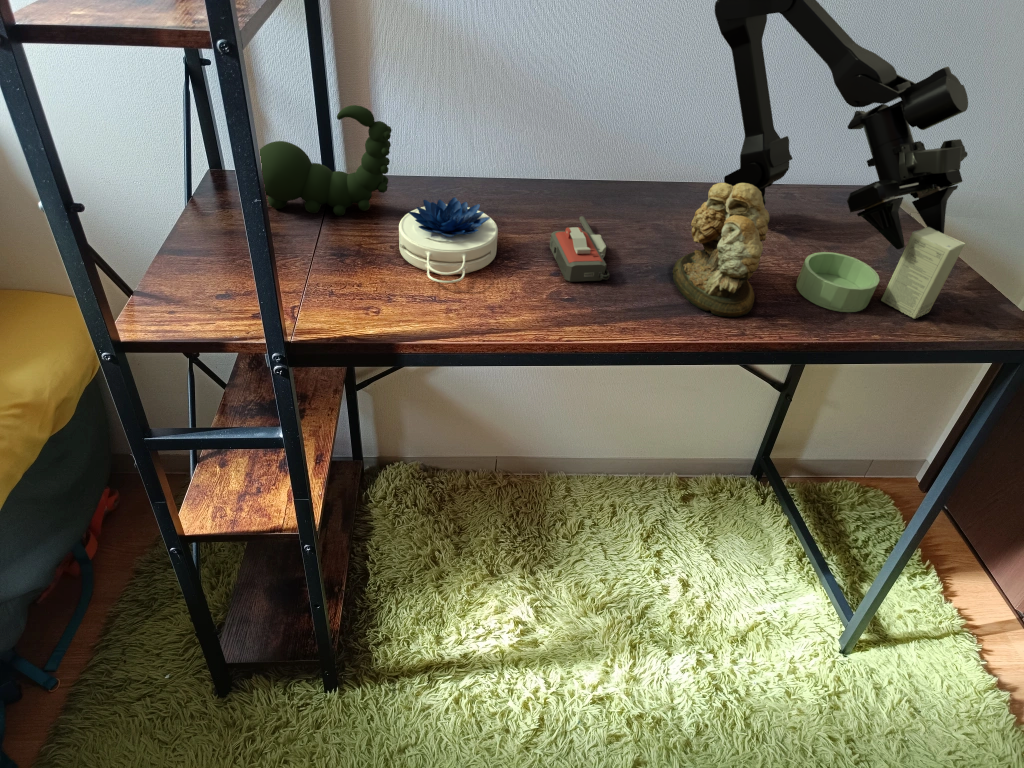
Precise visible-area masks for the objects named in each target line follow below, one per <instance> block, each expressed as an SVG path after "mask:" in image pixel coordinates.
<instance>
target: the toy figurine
mask: <svg viewBox="0 0 1024 768" xmlns="http://www.w3.org/2000/svg"><path fill="white" fill-rule="evenodd" d="M345 118H350V119H353V120H355V121H356V122H358V123H359V124H360V125H362V126H364V127H367V128H368V130H367V133H368V137H367V138H366V140H365V143H364V149H365V152H363V154H362V156H361V159H360V160H361V161H360V165H359V166H358V167H357V169H356V171H353V172H351V173H347V172H345V171H341V170H335V171H333V170H331V169H330V167H328V166H326V165H324V164H321V163H319V162H312V161H311V159H310V157H309V156H308V154H307V153H306V151H304V150H303V149H302V148H300V146H298V145H296V144H293V143H291V142H289V141H284V140H276V141H272V142H268V143H266V144H265V145H263V146H261V147H260V149H259V150H260V156H261V163H262V171H263V178H264V184H265V191H266V195H265V196H267V203H268V204H269V206H270V207H271V208H273V209H275V210H281V209H283V208H284V207H286V206H287V205H288V202H289V201H290V202H291V201H294V200H298V199H302V201H304V208H305V211H306V212H308V213H310V214H316V213H318V212H319V211H320V210H321V208H322V207H321V206H322V205H325V204H327V205H328V206H329V207H331V208H332V212H333V214H334V215H335V216H337V217H338V216H339V217H341V216H343V215H345V214H346V209H347V208H349V207H351V206H352V205H353V204H356V205H357V206H358V209H359V210H361V211H362V212H365V211H368V210H369V209H370V207H371V204H370V200H371V199H372V196H373V194H372V193H373V192H375V191H378V192H379V193H381V194H382V193H383V194H385V193H386V192H387V191H388V184H389V178H388V177H387V176H386V174H388V173H389V169H390V168H389V167H388V166H389V165H390V161H391V160H390V158H389V157H387V156H389V155H390V153H391V151H390V149H391V146H392V144H391V141H390V139H391V136H392V135H391V134H392V130H393V129H392V127H391V126H389V125H388V124H387V123H386V122H384V121H382V120H377V121H375V115H374V114H373V112H372V111H371V110H369V109H368V108H366V107H365V106H363V105H357V104H352V105H347V106H345V107H342V109H341V110H339V112H337V114H336V119H337V120H338V121H340V120H341V121H342V119H345Z"/></svg>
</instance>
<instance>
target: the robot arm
mask: <svg viewBox="0 0 1024 768" xmlns="http://www.w3.org/2000/svg"><path fill="white" fill-rule="evenodd" d="M773 14H780V15H781V16H782V17H783V18H784V19H785V20H786V21H787V22H788V23H789V24H790V25H791V27H792V28H793V29H794V30H795V31H796V32H797V33H798V34H799V36H800V37H802V39H803V40H804V41H805V42H806V44H807V45H808V46H810V47H811V49H812V50H813V51H814V52H815V53H816V55H818V57H820V58H821V59H822V61H823V62H824V64H826V65H827V67H828V69H829V70H830V72H831V75H832V79H833V83H834V85H835V87H836V88H837V90H838V92H839V93H840V95H841V97H842V99H843V100H844V101H845V103H846V104H848V105H849V106H850V107H853V108H864V107H868V106H870V105H874V104H879V105H876V106H875V107H873V108H871V109H869V110H867V111H865V110H855V112H854V115H853V117H852V119H851V120H850V122H849V123H848V125H847V129H848V130H862V129H863V131H864V133H865V137H866V141H867V144H868V147H869V151H870V154H871V157H872V158H869V159H866V164H867V166H868V168H871V167H874V168H875V170H876V175H877V177H878V180H875V181H874V182H871V183H869V184H867V185H865V186H863V187H860V188H858V189H855V190H854V191H851V192H850V193H849V195H848V197H847V199H846V202H847V206H848V209H849V212H850V214H851V213H855V212H857V213H856V215H857V217H862V218H863V219H864V220H865V221H866V222H867V223H868V224H870V225H871V226H872V227H873V228H874V229H876V231H877V232H878V233H879V234H880V235H881V236H882V237H884V238H885V239H886V241H888V242H889V243H890V244H891V245H892V246H893V248H894V249H896V250H901V249H905V237H904V233H903V228H902V224H901V217H900V214H899V210H900V208H901V205H902V202H903V200H904V196H905V195H910V196H911V197H912V198H913V199H915V200H913V201H911V203H912V205H913V207H914V208H915V210H916V212H917V213H918V215H919V216H920V218H921V219H922V221H923V222H924V223H925V226H926V227H930V228H932V229H934V230H936V231H939V232H941V233H943V234H945V226H946V225H945V224H946V213H947V212H946V211H947V205H948V200H949V198H950V197H951V196H952V194H953V193H954V191H957V189H958V187H959V184H960V183H963V178H962V174H961V171H960V170H961V163H962V162H963V161H964V160H965V158H967V157H968V151H966V148H965V147H966V146H965V145H964V143H963V140H962V139H961V138H959V139H958V138H957V139H949V140H944V141H943V142H942V144H941V146H940V147H938V148H931V149H929V148H928V149H926V147H925V144H924V142H922V141H921V140H918V141H915V140H914V137H913V133H912V131H911V128H916V127H917V128H918V129H919V130H920V131H925V130H928V129H929V128H931V127H934V126H937V125H938V124H940V123H943V122H945V121H947V120H950V119H952V118H954V117H956V116H958V115H961V114H962V113H965V112H966V111H967V110H968V109H969V108H968V107H969V98H968V94H967V90H966V88H965V85H964V84H962V83H961V81H960V80H959V78H958V77H957V76H956V75H955V74H953V73H952V71H951V68H950V66H944V67H942V68H940V69H938V70H936V71H934V72H933V73H931V74H930V75H929V76H927V77H925V78H924V79H922V80H920V81H917V82H914V81H912V80H910V79H907V78H905V77H903V76H901V75H900V74H898V73H897V70H896V68H895V67H894V66H893V65H892V64H891V63H890V62H889V61H887V60H885V59H884V58H883V57H881V56H880V55H878V54H877V53H875V52H874V51H871V50H869V49H867V48H865V47H862V46H861V45H860V44H858V43H857V42H856V41H854V39H853V38H852V37H851V36H850V35H849V33H847V32H846V31H845V30H844V29H843V27H841V25H840V24H839V23H838V22H837V21H836V20H835V18H833V17H832V16H831V14H830V13H829V12H828V11H827V10H826V9H825V8H824V6H823V5H821V4H820V2H819V1H817V0H716V1H715V3H714V16H715V19H716V22H717V26H718V29H719V31H720V32H719V33H720V34H721V36H722V37H723V39H724V40H725V42H726V43H727V45H728V46H729V48H730V50H731V54H732V61H733V67H734V73H735V80H736V86H737V93H738V99H739V106H740V112H741V119H742V125H743V133H744V139H743V143H742V147H741V151H740V155H739V168H737V169H736V170H734V171H732V172H730V173H729V174H726V175H724V177H723V183H727V184H729V185H732V186H735V185H736V184H739V183H748V184H752V185H754V186H755V187H757V188H758V189H759V190H760V191H761V193H762V197H763V203H764V207H765V206H766V203H767V200H766V199H767V198H766V188H769V187H771V186H772V185H773V184H774V182H777V181H780V180H781V179H782V178H784V177H785V175H786V174H787V172H788V171H789V170H790V161H792V160H793V156H792V155H791V151H790V138H789V136H788V135H786V136H783V137H781V136H780V135H779V134H778V132H777V131H776V129H775V126H774V119H773V112H772V103H771V99H770V98H771V97H770V90H769V83H768V77H767V76H768V75H767V70H766V69H767V68H766V61H765V55H764V48H763V47H764V46H763V37H764V33H765V29H766V26H767V21H768V15H773ZM898 99H900V100H899V101H898V102H895V103H893V104H891V105H887V104H889V103H890V102H893V101H895V100H898Z"/></svg>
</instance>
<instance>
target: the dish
mask: <svg viewBox="0 0 1024 768" xmlns="http://www.w3.org/2000/svg"><path fill="white" fill-rule="evenodd" d="M803 261H804V262H803V264H802V267H801V269H800V271H799V274H798V277H797V279H796V283H795V285H796V289H797V291H798V292H799V294H800V295H801V296H802V297H803V298H804V299H806V300H807V301H809V302H810V303H812V304H814V305H816V306H819V307H821V308H824V309H826V310H830V311H834V312H840V313H856V312H860V311H863V310H865V309H866V308H867V307H868V306H869V304H870V302H871V300H872V298H873V295H874V293H875V292H876V289H877V288H878V285H879V284H880V276H879V274H878V273H877V271H876V270H875V269H874V268H873V267H872V266H870V265H869V264H867V263H866V262H864V261H862V260H860V259H858V258H856V257H852V256H851V255H847V254H843V253H838V252H831V251H829V252H828V251H820V252H814V253H812V254H809V255H808V256H807V257H806V258H805V259H804V260H803Z"/></svg>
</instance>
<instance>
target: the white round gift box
mask: <svg viewBox="0 0 1024 768" xmlns="http://www.w3.org/2000/svg"><path fill="white" fill-rule="evenodd" d="M422 202H423V206H421V207H420V206H416V208H415V209H413V210H411V211H408V212H407V213H406V214H404V216H403V217H402V218H401V219H400V221H399V224H398V243H399V244H398V247H399V248H398V249H399V253H400V254H401V256H402V258H403V259H404V260H405V261H406V262H408V263H409V264H410V265H412V266H413V267H415V268H417V269H419V270H423V271H425V272H426V276H427V278H428V279H429V280H430V281H432V282H435V283H440V284H454V283H455V284H456V283H459V282H462V280H463V279H464V278H465V277H466V276H465V275H466V274H470V273H473V272H477V271H479V270H482V269H483V268H485V267H487V266H488V265H490V264H491V263H492V262H493V261H494V260H495V257H496V255H497V251H498V250H497V248H498V237H499V236H498V235H499V228H498V225H497V223H496V222H495V221H494V219H493V218H491V217H490V216H489V215H487V214H486V213H484V211H481V210H479V209H480V206H481V204H479V203H478V204H475V205H473V206H471V207H470V206H469V204H468V202H467V201H463V202H462V203H461V201H460V200H458V199H457V197H452V198H451V199H450V200H449V202H448V203H445V202H444V201H443V200H442V199H438V200H437V203H436V202H434V201H431V202H430V201H429V200H427V199H423V200H422ZM430 273H433V274H437V275H441V276H452V275H461V277H460V278H457V279H453V280H452V279H451V280H441V279H437V278H434V277H432V276H431V274H430Z"/></svg>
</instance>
